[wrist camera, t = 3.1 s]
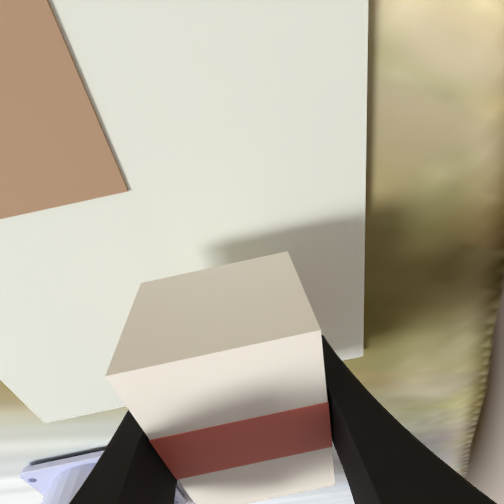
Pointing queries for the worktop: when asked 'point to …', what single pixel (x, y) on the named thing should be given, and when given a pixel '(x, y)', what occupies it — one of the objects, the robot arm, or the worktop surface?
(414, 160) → the worktop surface
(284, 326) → the card box
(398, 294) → the worktop surface
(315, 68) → the mat
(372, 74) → the worktop surface
